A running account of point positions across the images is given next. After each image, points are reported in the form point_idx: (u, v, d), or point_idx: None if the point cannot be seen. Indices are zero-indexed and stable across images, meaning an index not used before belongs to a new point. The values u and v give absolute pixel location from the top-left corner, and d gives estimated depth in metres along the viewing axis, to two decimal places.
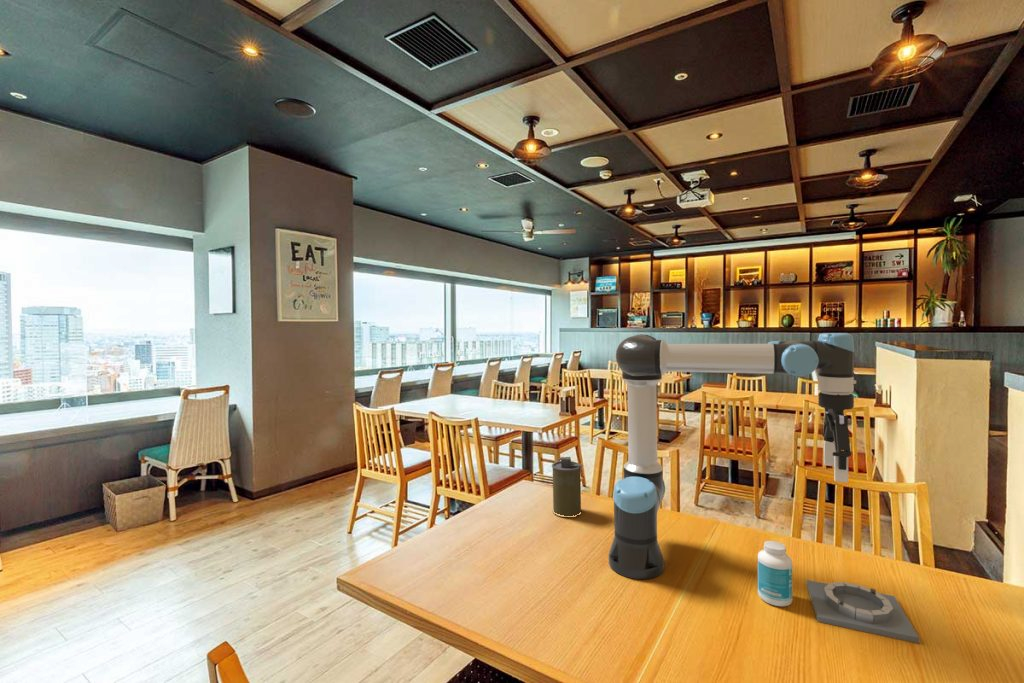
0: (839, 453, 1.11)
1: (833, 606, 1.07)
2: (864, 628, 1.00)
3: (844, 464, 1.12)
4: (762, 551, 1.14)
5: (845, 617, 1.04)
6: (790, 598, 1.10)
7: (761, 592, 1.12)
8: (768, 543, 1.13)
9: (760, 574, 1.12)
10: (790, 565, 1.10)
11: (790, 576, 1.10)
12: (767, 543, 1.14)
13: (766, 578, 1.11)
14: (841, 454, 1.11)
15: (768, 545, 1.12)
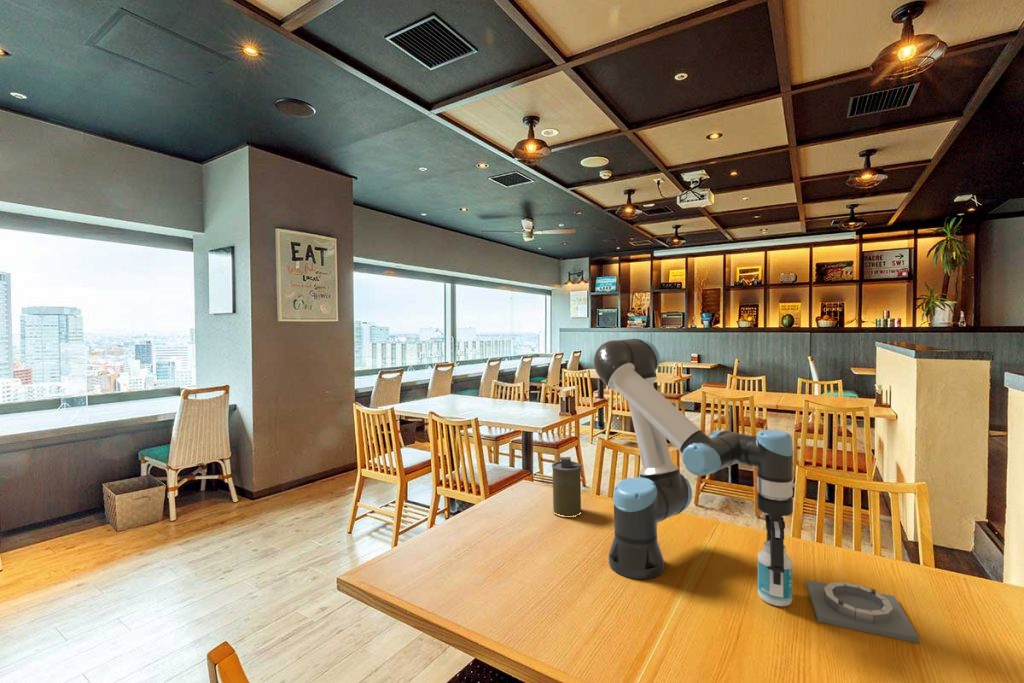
0: (772, 569, 1.06)
1: (833, 606, 1.07)
2: (864, 628, 1.00)
3: (778, 579, 1.07)
4: (762, 551, 1.14)
5: (845, 617, 1.04)
6: (790, 598, 1.10)
7: (761, 592, 1.12)
8: (768, 543, 1.13)
9: (760, 574, 1.12)
10: (790, 565, 1.10)
11: (790, 576, 1.10)
12: (767, 543, 1.14)
13: (766, 578, 1.11)
14: (774, 570, 1.06)
15: (769, 545, 1.12)
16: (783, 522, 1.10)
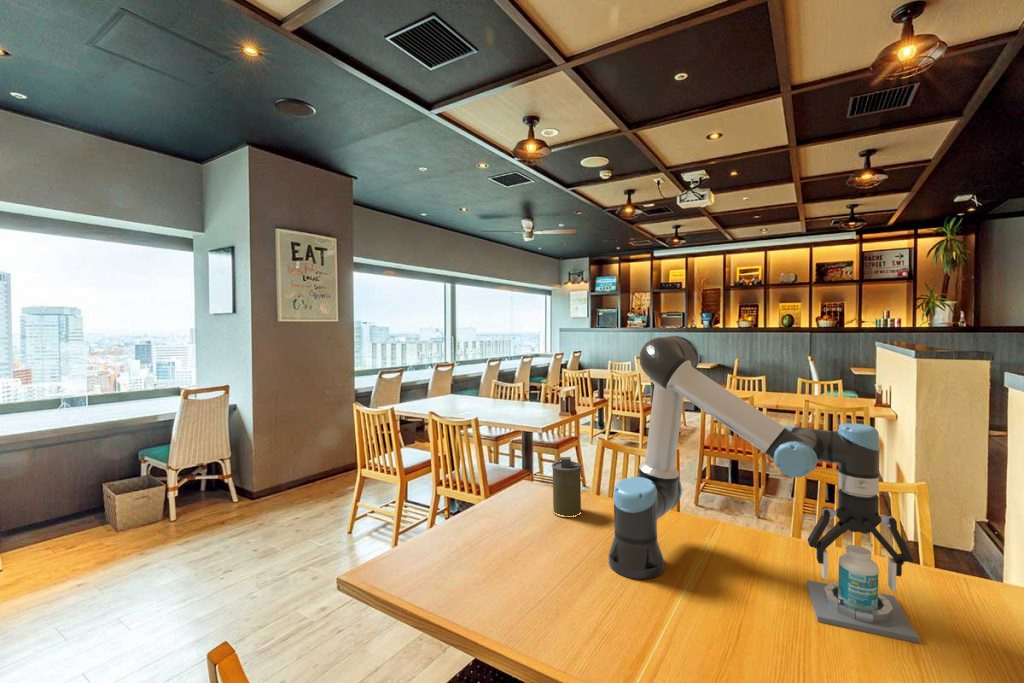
0: None
1: (833, 606, 1.07)
2: (864, 628, 1.00)
3: (817, 556, 1.10)
4: None
5: (845, 617, 1.04)
6: (850, 603, 1.05)
7: None
8: (858, 547, 1.08)
9: None
10: (851, 569, 1.05)
11: (851, 580, 1.05)
12: (859, 547, 1.08)
13: None
14: (808, 541, 1.12)
15: (853, 546, 1.08)
16: (852, 518, 1.06)
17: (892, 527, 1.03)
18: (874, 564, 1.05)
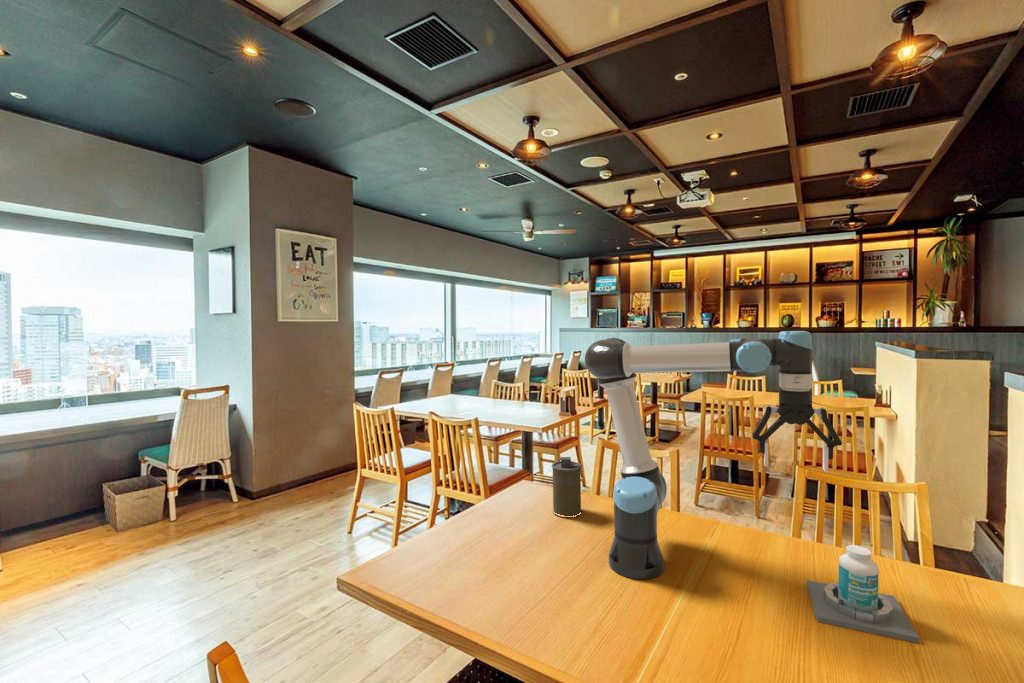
0: None
1: (833, 606, 1.07)
2: (864, 628, 1.00)
3: None
4: None
5: (845, 617, 1.04)
6: (850, 603, 1.05)
7: None
8: (859, 547, 1.08)
9: None
10: (852, 569, 1.05)
11: (851, 580, 1.05)
12: (859, 547, 1.08)
13: None
14: None
15: (853, 546, 1.08)
16: (789, 412, 1.21)
17: (823, 416, 1.18)
18: (874, 564, 1.05)
